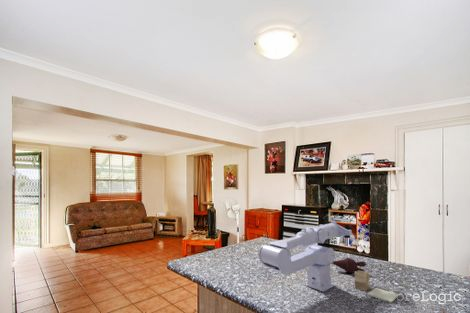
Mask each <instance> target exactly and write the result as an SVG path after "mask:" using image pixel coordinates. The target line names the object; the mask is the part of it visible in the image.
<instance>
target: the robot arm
mask: <svg viewBox="0 0 470 313" xmlns="http://www.w3.org/2000/svg"><path fill="white" fill-rule="evenodd" d="M353 232H354V226H353V225H352V226H351V225H349V224H344V227H343V226H341V225H340V224H338V223H337V221H336V220H331V221H327V220H324V221H323V224H318V226H307V227H306V229H301V231H299V232H297V233H296V234H295V236H293V237H288V238H284V239H280V240H274V241H269V242H268V243H265V244H262V245H261V246H260V247H259V250H258V253H257V254H258V259H259V261H260V262H261V264H262V265H263V266H265V267H267V268H269V269H271V270H272V271H275V272H276V273H278V274H279V275H282V276H286V277H287V276H290V275H292V274H294V273H297V272H299V271H301V270H303V269H306V268H307V270H306V272H307V274H306V275H307V278H306V279H307V281H306V282H307V283H305V286H307V287H309V288H312V289H315V290H317V291H320V292H326V291H327V290H329V289H331V288H333V287H335V286H336V284H335V283H333V282H332V280H331V279H332V278H331V265H333V264H332V263H333V261H335V259H336V253H335V251H334V248H332V247H326V246H323V245H319V244H324V243H325V242H326V240H329V239H332V238H337V237H339V238H340V237H343V238H346V239H349V238H351V236H352V235H353V234H352V233H353ZM316 243H317V244H316ZM297 247H300V248H305V249H304V251H302V252H300V253H297V254H294V255H292V253H291V252H292V250H294V249H296V248H297Z"/></svg>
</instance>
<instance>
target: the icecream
mask: <svg viewBox="0 0 470 313" xmlns="http://www.w3.org/2000/svg"><path fill="white" fill-rule="evenodd" d="M331 265H335V267H338V268H340V269H341V270H344V271H345V272H346V273H348V274H349V273H350V274H352V273H355V272H356V271H358V270H360V271H364V272H366V271H365V269H363V268H364V267H366V266H367V263H366V261H355V259H353V258H350V257H346V258H344V259H340V260H334V261H333V263H332V264H331ZM362 267H363V268H362Z"/></svg>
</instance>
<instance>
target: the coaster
mask: <svg viewBox="0 0 470 313" xmlns="http://www.w3.org/2000/svg"><path fill="white" fill-rule="evenodd" d="M368 295H370V296H369V297H371V296H373V297H372V298H374V297H375V298H376V299H377V298H378V300H380V301H381V300H382V301H384V302H387V301H388V302H387V303H390V302H391V303H390V304H392V303H393V302H395V301H396V300H397V299H398V298H399V297H400V294H399V293H395V292H391V291H388V290H385V289H381V288H378V287H376V288H373V289H371V290H370V291H369V292H367V296H368ZM398 296H399V297H398ZM397 297H398V298H397ZM396 298H397V299H396ZM395 299H396V300H395Z"/></svg>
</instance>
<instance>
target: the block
mask: <svg viewBox="0 0 470 313" xmlns="http://www.w3.org/2000/svg"><path fill="white" fill-rule="evenodd" d="M364 271H365V270H364ZM364 271H360V270H358V271H355V272H354V289H357V290H360V291H363V292H366V290H367V291H368V290H370V289H371V288H370V285H371V284H370V283H371V282H370V272H367V271H365V272H364Z"/></svg>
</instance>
